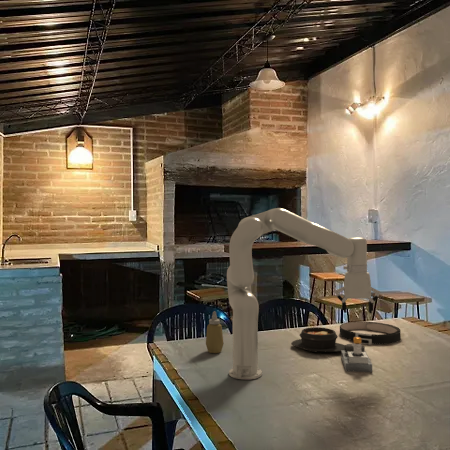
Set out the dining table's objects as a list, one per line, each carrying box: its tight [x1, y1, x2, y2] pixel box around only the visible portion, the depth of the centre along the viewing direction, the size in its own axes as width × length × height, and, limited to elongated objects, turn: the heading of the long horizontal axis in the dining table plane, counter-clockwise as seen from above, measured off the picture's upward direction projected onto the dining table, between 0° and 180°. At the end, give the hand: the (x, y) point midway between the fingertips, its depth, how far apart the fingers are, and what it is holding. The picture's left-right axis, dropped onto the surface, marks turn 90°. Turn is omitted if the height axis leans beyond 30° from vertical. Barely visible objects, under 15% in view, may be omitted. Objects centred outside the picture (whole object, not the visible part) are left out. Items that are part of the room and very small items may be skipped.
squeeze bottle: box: [205, 311, 224, 354], centre depth 205 cm, size 8×8×18 cm
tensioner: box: [340, 343, 373, 373], centre depth 186 cm, size 18×10×7 cm, turn 171°
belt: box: [339, 320, 401, 345], centre depth 230 cm, size 29×30×5 cm
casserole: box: [290, 326, 346, 354], centre depth 208 cm, size 25×19×8 cm
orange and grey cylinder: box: [352, 337, 362, 356], centre depth 181 cm, size 3×3×9 cm
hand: (357, 312), depth 181 cm, fingers open, 9 cm apart
